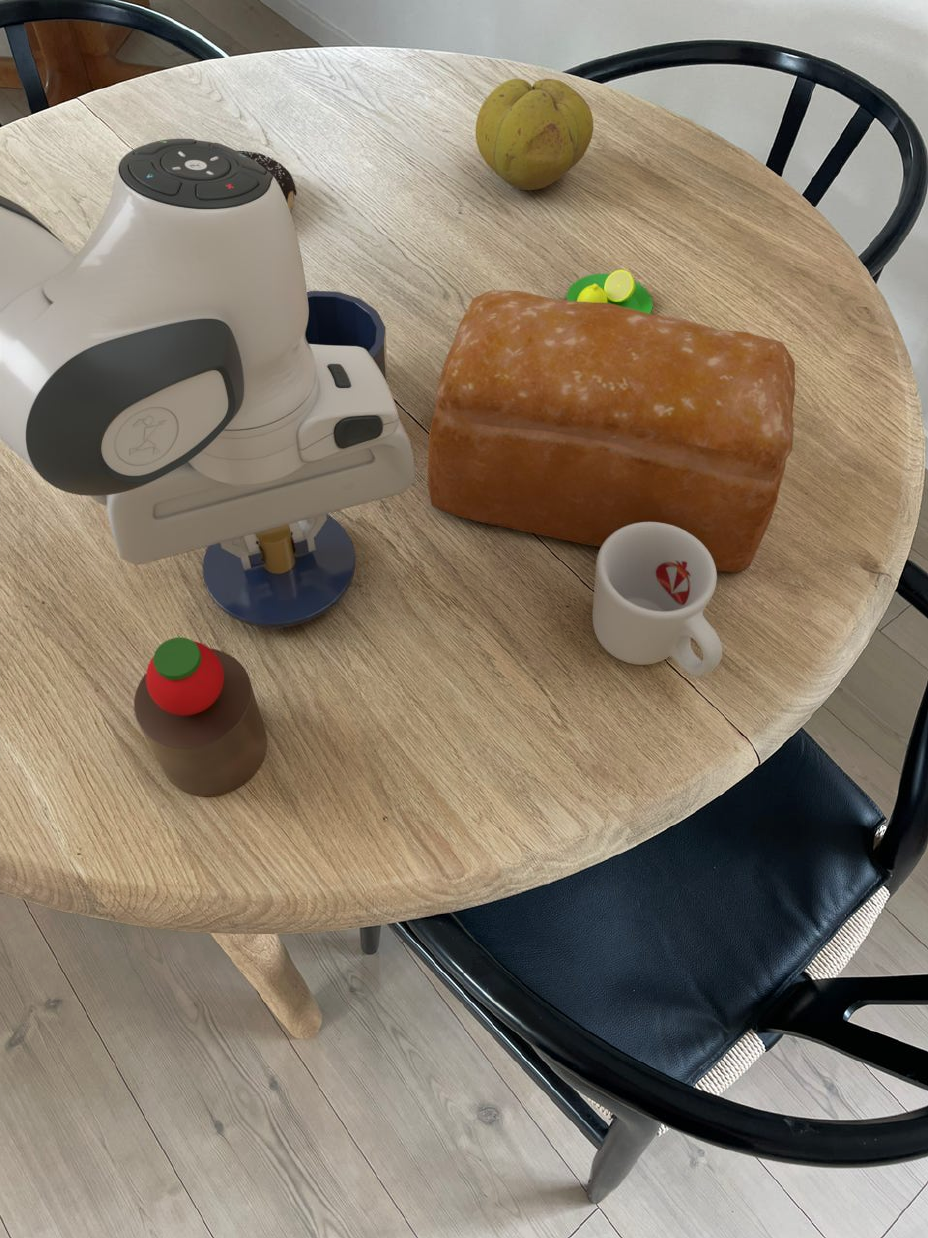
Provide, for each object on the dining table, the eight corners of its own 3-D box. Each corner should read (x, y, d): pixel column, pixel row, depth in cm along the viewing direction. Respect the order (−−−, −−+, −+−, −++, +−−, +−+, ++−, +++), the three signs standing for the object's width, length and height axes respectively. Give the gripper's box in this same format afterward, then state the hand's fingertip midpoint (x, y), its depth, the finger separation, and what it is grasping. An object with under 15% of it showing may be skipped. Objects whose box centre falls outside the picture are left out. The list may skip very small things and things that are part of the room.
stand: (172, 811, 62) (146, 764, 56) (150, 720, 66) (123, 667, 60) (279, 776, 64) (264, 726, 58) (252, 689, 67) (235, 633, 61)
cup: (740, 674, 69) (773, 610, 62) (655, 729, 66) (680, 669, 60) (642, 571, 74) (663, 502, 67) (559, 619, 71) (572, 552, 65)
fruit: (577, 219, 99) (590, 123, 90) (463, 203, 100) (466, 105, 91) (591, 159, 105) (605, 63, 96) (483, 144, 106) (488, 48, 97)
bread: (458, 399, 84) (464, 239, 71) (764, 458, 81) (828, 302, 68) (416, 519, 76) (413, 364, 63) (751, 589, 73) (821, 442, 60)
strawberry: (164, 738, 57) (145, 700, 53) (149, 677, 59) (129, 637, 56) (237, 715, 58) (224, 676, 54) (220, 656, 60) (206, 615, 57)
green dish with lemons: (604, 268, 94) (608, 242, 92) (668, 307, 91) (674, 282, 89) (548, 304, 91) (551, 278, 89) (613, 346, 88) (618, 321, 86)
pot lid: (225, 652, 68) (213, 614, 64) (190, 535, 73) (177, 494, 69) (375, 606, 70) (372, 567, 66) (331, 497, 76) (325, 455, 72)
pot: (284, 461, 79) (271, 391, 73) (251, 377, 84) (237, 306, 78) (405, 429, 81) (403, 360, 75) (366, 350, 87) (361, 279, 81)
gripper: (80, 494, 55) (141, 629, 66) (423, 407, 59) (424, 547, 71) (63, 418, 58) (124, 560, 69) (389, 341, 62) (395, 486, 74)
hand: (278, 553), depth 70 cm, fingers closed on pot lid, 2 cm apart
